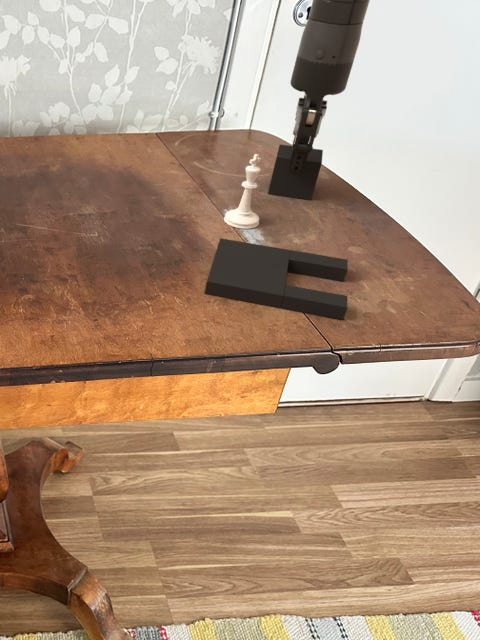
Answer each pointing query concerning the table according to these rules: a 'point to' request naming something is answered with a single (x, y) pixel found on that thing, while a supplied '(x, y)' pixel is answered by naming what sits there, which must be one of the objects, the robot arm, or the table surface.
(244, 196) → the chess piece
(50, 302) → the table surface
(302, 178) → the pad piece
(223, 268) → the base pad
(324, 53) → the robot arm
